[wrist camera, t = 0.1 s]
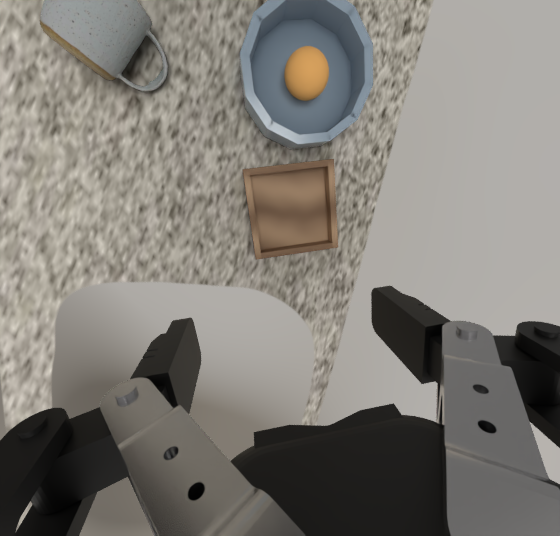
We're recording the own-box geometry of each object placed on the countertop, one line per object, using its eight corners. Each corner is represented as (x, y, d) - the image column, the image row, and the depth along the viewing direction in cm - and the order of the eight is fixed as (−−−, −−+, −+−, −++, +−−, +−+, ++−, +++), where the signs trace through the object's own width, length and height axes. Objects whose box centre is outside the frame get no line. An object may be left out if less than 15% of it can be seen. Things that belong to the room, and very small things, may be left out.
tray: (242, 170, 37) (242, 169, 34) (326, 160, 38) (333, 158, 35) (255, 254, 41) (256, 259, 38) (331, 243, 42) (338, 247, 39)
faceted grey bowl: (232, 18, 32) (231, -11, 27) (353, 10, 33) (372, -19, 29) (251, 153, 36) (252, 149, 32) (356, 142, 38) (373, 136, 33)
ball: (279, 60, 33) (285, 37, 28) (320, 56, 33) (333, 34, 28) (283, 107, 34) (290, 95, 30) (323, 104, 35) (336, 90, 30)
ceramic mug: (63, 47, 31) (9, 6, 23) (97, -22, 29) (51, -88, 22) (149, 113, 34) (125, 95, 27) (184, 53, 32) (169, 17, 25)
